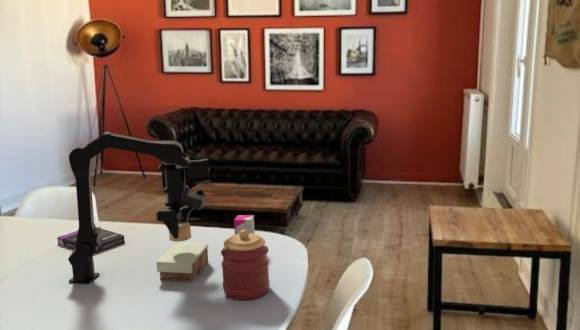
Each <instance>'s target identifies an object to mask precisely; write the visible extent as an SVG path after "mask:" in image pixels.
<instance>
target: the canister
mask: <svg viewBox="0 0 580 330" xmlns="http://www.w3.org/2000/svg"><path fill="white" fill-rule="evenodd" d="M223 246H224V247H223V248H222V249H221V250H220V254H221V256H222V261H221V268H222V269H221V270H222V289H223V293H224V295H225V296H226V297H228V298H230V299H233V300H238V301H250V300H251V301H252V300H255V299H258V298H259V299H260V298H262V297H263V296H265V295H266V294H268V293H269V291H270V285H271V283H270V282H271V281H270V273H269V270H270V269H269V263H270V258H268V253H269V250H270V249H269V247H268V246H267V245H266V240H265V239H264V238H263V237H261V236H259V234H257V233H255V234H252V233H248V231H247V230H241V231H240V233H239V234H236V235H235V234H234V235H233V234H232V235H231V236H229V237H228V238H227V239H225V240H224V241H223Z"/></svg>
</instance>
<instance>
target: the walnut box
mask: <svg viewBox="0 0 580 330" xmlns="http://www.w3.org/2000/svg"><path fill="white" fill-rule="evenodd" d="M207 265H209V251H208V248H207V249H206V250H205V251H204V252H203V253H202V254H201V255H200V256H199V258H198V259H197V260H196V261H195V262H194V263H193V264H192V269H193V272H192V273H176V272H159V277H160V279H159V280H161V281H176V282H177V281H178V282H179V281H180V282H194V281H195V280H196V278H197V277H198V276H199V275H200V274H201V272H203V270H204V269H205V267H206V266H207Z"/></svg>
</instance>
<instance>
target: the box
mask: <svg viewBox="0 0 580 330" xmlns="http://www.w3.org/2000/svg"><path fill="white" fill-rule="evenodd" d="M96 228H98V227H97V226H96ZM77 233H78V230H76V231H73V232H70V233H67V234H65V235H60V236H58V237H57V238H56V239H57V244H58V245H60V246H63V247H66V248H69V249H72V250H74V248H75V246H76V238H77ZM101 238H102V241H101V243H100V245H99V247H98V248H97V250H96V252H95V254H97V253H100V252H102V250H103V251H105V249H106V250H108V249H112V248H114V247H116V245H117V246H119V245H122V244H124V243H126V242H125V241H126V240H125V235H124V234H121V233H118V232H115V231H110V230H108V229H104V228H101ZM113 246H114V247H113ZM99 251H100V252H99Z"/></svg>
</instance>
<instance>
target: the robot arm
mask: <svg viewBox="0 0 580 330" xmlns="http://www.w3.org/2000/svg"><path fill="white" fill-rule="evenodd" d="M108 148H110V149H116V150H121V151H125V152H132V153H137V154H144V155H147V156H151V157H153V158H156V159H158V160H159V161H162V162H161V164H160V165H159V166H158V168H157V172H164V179H165V188H164V189H163V193H164V194H166V202H165V203H164V206H165V207H162V208H161V209H160V210H158V212H157V213H155V218H156V219H155V220H156V221H157V222H162V223H163V224H164V225H165V226H166V228H167V229H168V232H169V231H170V233H171V234H172V236H173V237H174V239H177V238H178V233H179V222H188V221H189V216H190V213H191V212H192V210H193V209H194V210H196V211H201V210H202V208H204V206H205V205H206V201H207V200H208V198H207V194H206V191H205V189H202V188H200V189H198V190H197V191H190V187H189V185H186V178H187V181H189V182H191V184H196V183H210V182H211V170H210V166H209V158H202V159H195V160H191V158H190V157H189V156H188V155H187V154H186V153H185V151H184V147H183V146H182V144H181V143H180V142H179V141H176V140H148V139H143V138H137V137H133V136H130V135H129V136H127V135H122V134H118V133H113V132H112V131H105V132H103V133H102V134H101V135H100V136H99V137H96V138H95V139H94V140H92V141H91V142H89V143H87V144H79V145H77V146H76V147H75V148H73V149H72V151H70V153H69V154H68V160H69V164H70V165H69V166H70V169H71V172H72V173H73V176H74V179H75V187H76V189H75V190H76V200H77V201H76V203H77V216H78V230H77V231H78V233H77V238H76V246H75V248H74V249H72V251H71V253H70V255H69V257H68V259H67V260H68V262H69V264H70V266H71V269H72V277H71V278H70V279H69V280H68V282H69V283H75V284H76V283H77V284H90V283H91V282H93V281H94V280H95V279H96V278H97V277H98V276H100V273H99V272H95V262H94V255H95V254H96V253H95V252H96V250H97V248H98V247H99V245H100V243H101V241H102V238H101V229H102V227H101V226H98V227H97V226H96V224H95V222H94V221H95V219H94V203H93V202H94V201H93V189H92V188H93V187H92V186H93V185H92V184H93V183H92V173H93V168H94V162H95V157H96V156H97V155H99V154H100V153H102V152H103V151H105V150H106V149H108ZM185 170H186V173H185ZM186 176H187V177H186ZM188 223H189V222H188ZM96 227H97V228H96ZM94 253H95V254H94Z"/></svg>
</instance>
